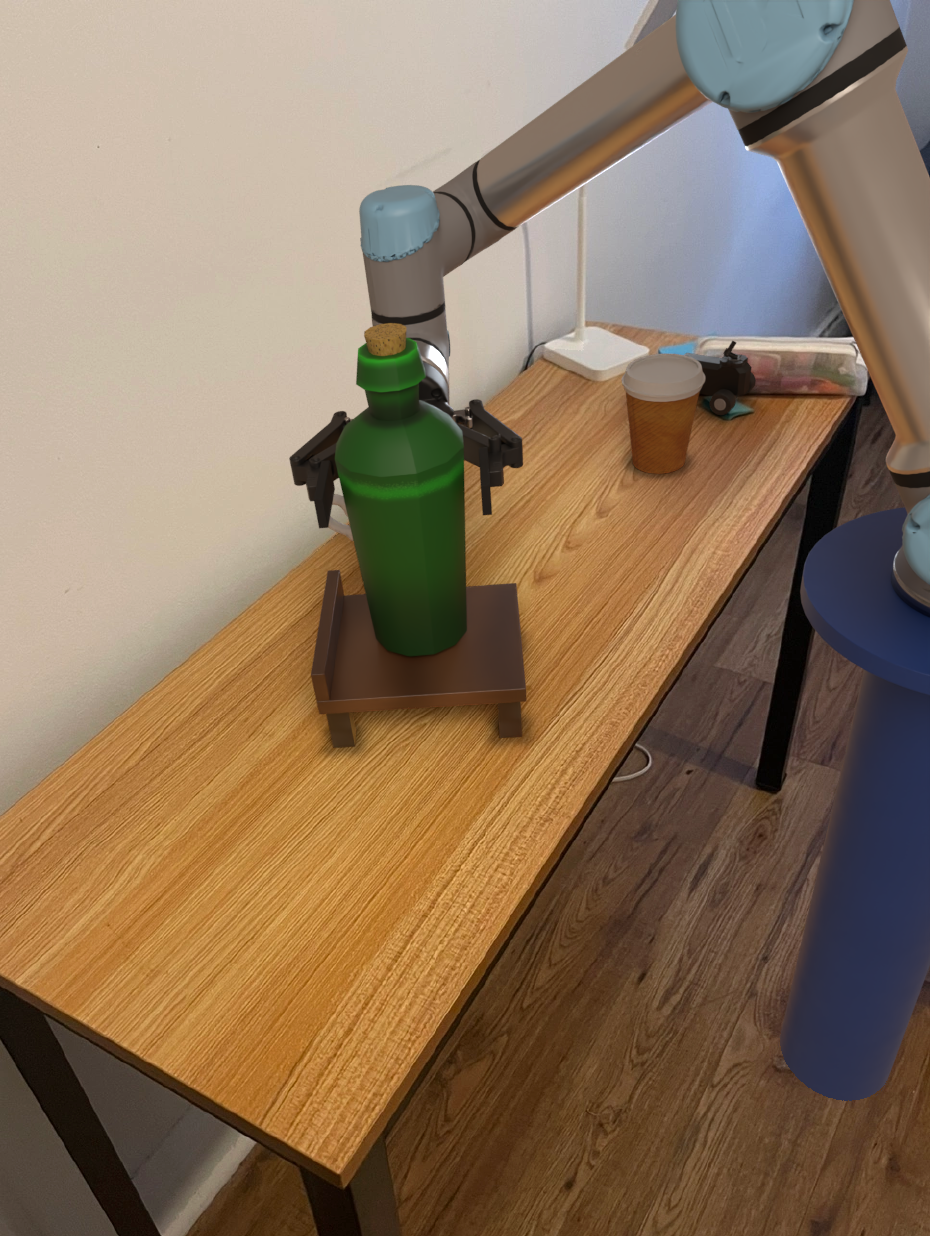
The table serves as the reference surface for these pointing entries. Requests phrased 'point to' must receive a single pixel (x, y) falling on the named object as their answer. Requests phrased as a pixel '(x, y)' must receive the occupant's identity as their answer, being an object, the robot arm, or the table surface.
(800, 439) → the table surface
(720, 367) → the toy vehicle
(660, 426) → the disposable coffee cup
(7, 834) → the table surface
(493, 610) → the shelf
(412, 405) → the bottle
